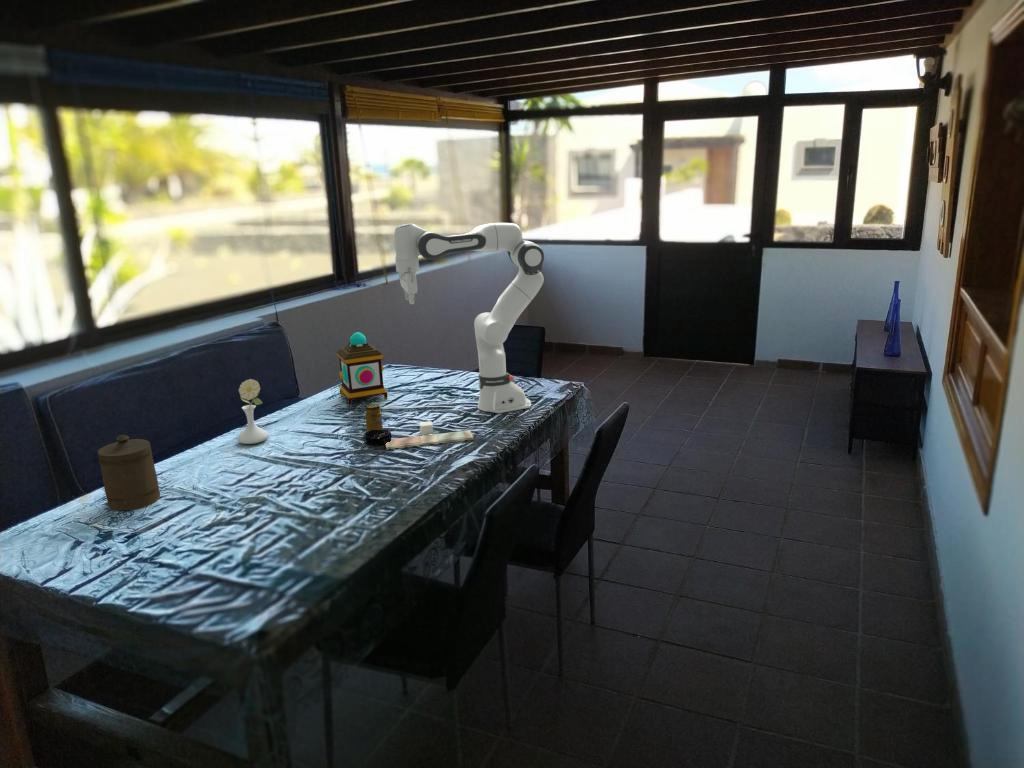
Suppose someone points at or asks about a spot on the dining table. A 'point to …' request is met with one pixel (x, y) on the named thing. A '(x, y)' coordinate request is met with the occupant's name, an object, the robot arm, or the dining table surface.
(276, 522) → the dining table surface
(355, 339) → the decorative lantern
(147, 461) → the wooden container
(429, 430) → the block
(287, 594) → the dining table surface
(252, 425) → the flower in vase
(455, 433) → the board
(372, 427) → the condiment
